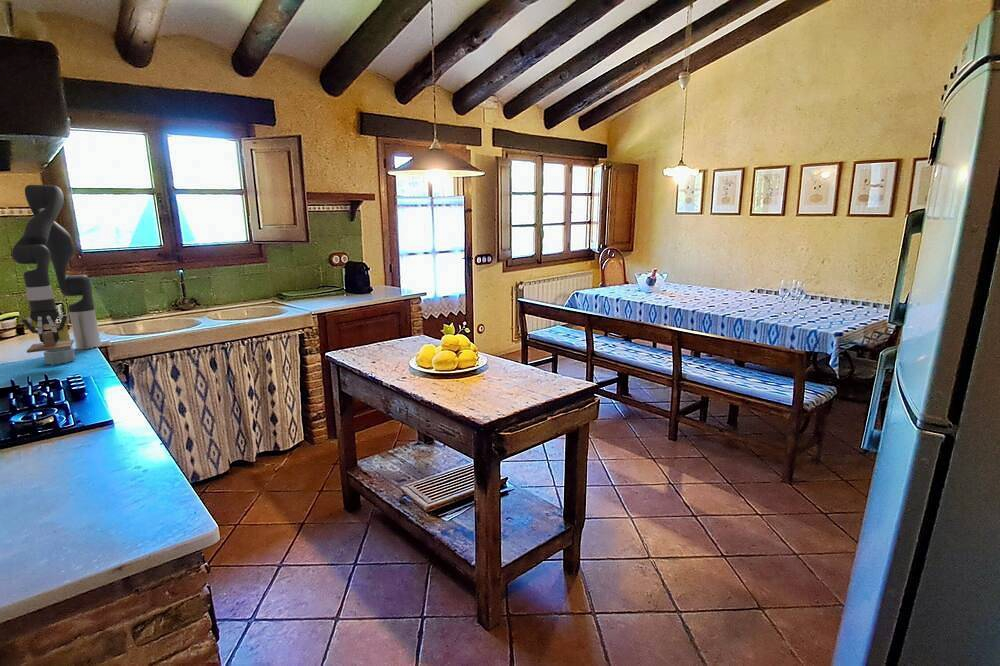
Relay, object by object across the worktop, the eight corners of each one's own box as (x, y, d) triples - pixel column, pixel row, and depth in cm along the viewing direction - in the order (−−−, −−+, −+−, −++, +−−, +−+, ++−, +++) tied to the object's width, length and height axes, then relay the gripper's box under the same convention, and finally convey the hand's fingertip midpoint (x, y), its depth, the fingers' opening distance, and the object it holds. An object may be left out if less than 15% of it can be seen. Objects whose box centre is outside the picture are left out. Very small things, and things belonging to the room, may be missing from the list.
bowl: (48, 361, 215) (46, 349, 214) (76, 357, 220) (74, 346, 219) (44, 366, 208) (42, 353, 207) (73, 362, 212) (71, 350, 211)
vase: (63, 358, 220) (57, 325, 217) (52, 357, 221) (45, 324, 218) (77, 354, 226) (71, 322, 223) (66, 354, 227) (59, 322, 224)
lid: (33, 346, 203) (30, 331, 202) (74, 341, 210) (71, 327, 208) (27, 352, 193) (23, 337, 191) (70, 347, 199) (67, 333, 198)
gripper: (66, 295, 204) (74, 338, 207) (18, 298, 196) (28, 343, 200) (63, 297, 198) (72, 341, 201) (14, 301, 190) (24, 347, 194)
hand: (50, 342), depth 201 cm, fingers closed on lid, 3 cm apart
